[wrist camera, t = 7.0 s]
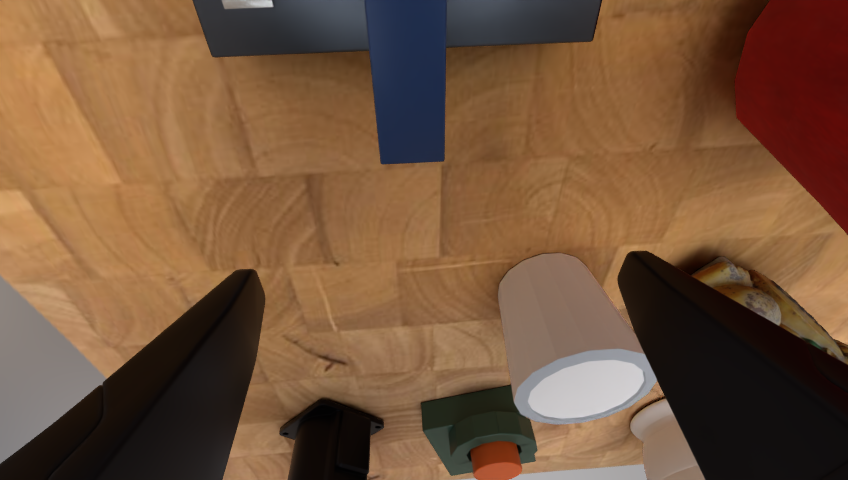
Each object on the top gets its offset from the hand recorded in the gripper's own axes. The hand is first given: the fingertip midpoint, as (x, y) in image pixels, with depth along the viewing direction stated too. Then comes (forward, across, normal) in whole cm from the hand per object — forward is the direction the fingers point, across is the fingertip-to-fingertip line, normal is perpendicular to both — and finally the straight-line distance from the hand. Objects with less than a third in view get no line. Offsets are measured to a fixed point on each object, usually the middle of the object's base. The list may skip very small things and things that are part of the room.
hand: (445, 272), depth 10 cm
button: (+6, -5, +25) cm, 26 cm away
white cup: (+10, -8, +11) cm, 16 cm away
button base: (+10, -5, +28) cm, 30 cm away
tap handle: (+6, +1, -5) cm, 8 cm away
